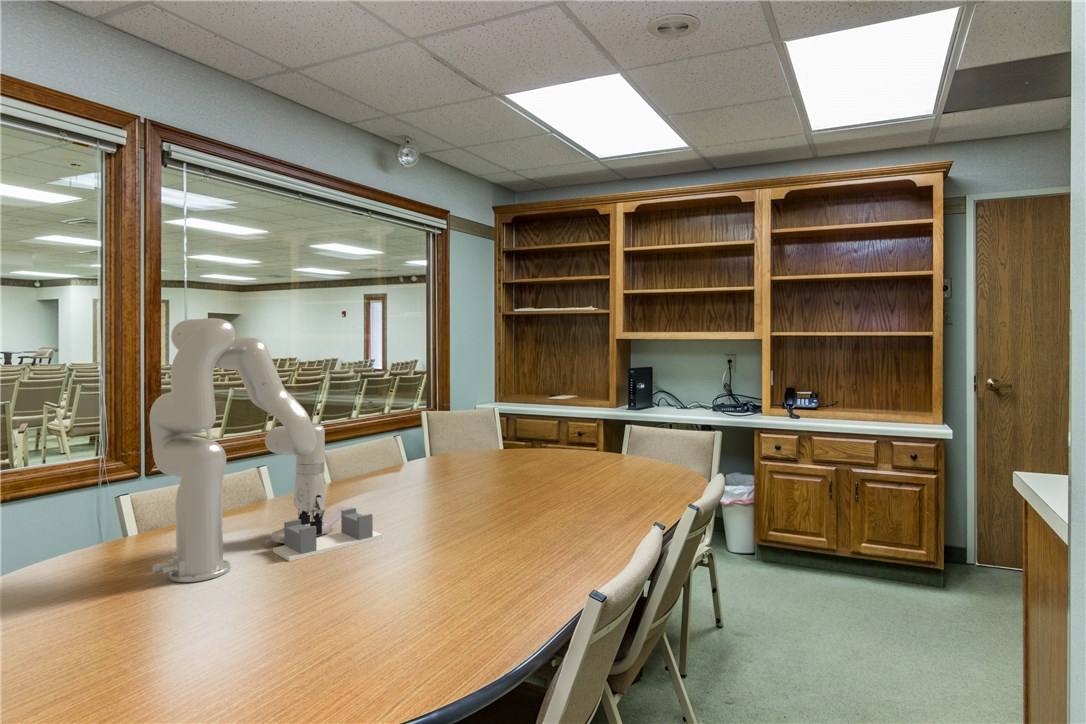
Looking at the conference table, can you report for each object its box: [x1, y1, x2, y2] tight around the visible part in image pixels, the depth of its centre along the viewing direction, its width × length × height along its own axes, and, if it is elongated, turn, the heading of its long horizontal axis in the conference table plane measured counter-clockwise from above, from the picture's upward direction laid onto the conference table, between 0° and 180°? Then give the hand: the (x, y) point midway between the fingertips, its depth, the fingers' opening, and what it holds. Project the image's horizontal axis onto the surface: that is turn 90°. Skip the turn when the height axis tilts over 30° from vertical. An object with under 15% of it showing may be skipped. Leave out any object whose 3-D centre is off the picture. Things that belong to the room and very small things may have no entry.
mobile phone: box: [263, 504, 353, 544], centre depth 171 cm, size 6×6×25 cm
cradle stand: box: [272, 507, 383, 562], centre depth 163 cm, size 26×10×7 cm, turn 136°
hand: (310, 531), depth 170 cm, fingers closed on mobile phone, 6 cm apart
